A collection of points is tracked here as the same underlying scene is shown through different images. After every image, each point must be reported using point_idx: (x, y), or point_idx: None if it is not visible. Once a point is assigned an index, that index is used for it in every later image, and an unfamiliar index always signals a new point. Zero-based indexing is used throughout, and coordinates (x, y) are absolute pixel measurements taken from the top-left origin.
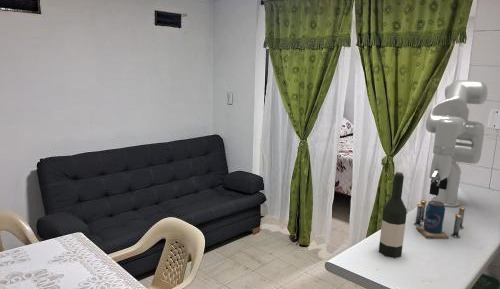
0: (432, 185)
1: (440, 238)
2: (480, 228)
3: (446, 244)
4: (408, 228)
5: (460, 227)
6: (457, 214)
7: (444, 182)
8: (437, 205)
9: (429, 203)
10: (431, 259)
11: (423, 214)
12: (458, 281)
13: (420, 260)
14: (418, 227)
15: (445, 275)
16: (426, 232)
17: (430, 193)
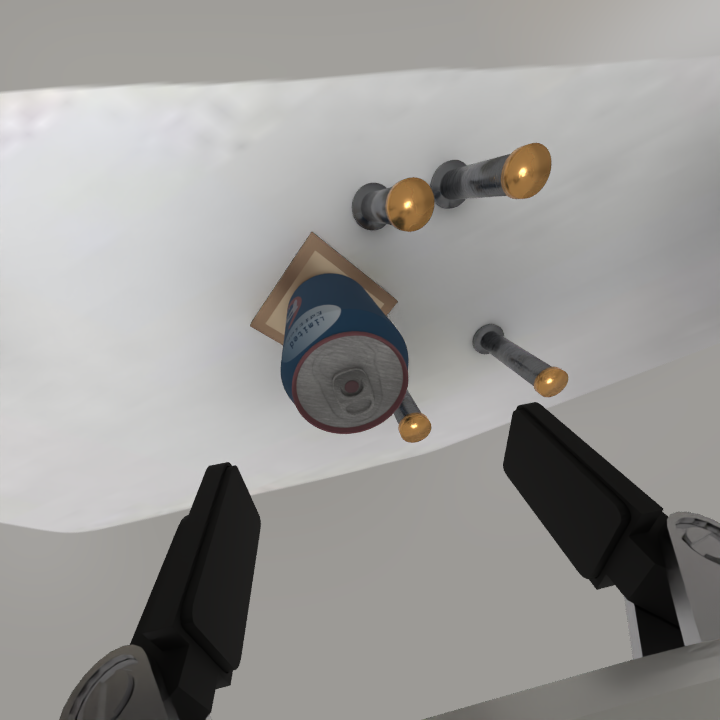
0: (131, 655)
1: None
2: None
3: (278, 391)
4: (278, 199)
5: (481, 347)
6: (423, 422)
7: (570, 533)
8: (334, 400)
9: (300, 361)
10: (92, 428)
11: (462, 195)
12: (63, 523)
13: (30, 415)
14: (311, 246)
15: (46, 497)
16: (286, 305)
17: (213, 475)
